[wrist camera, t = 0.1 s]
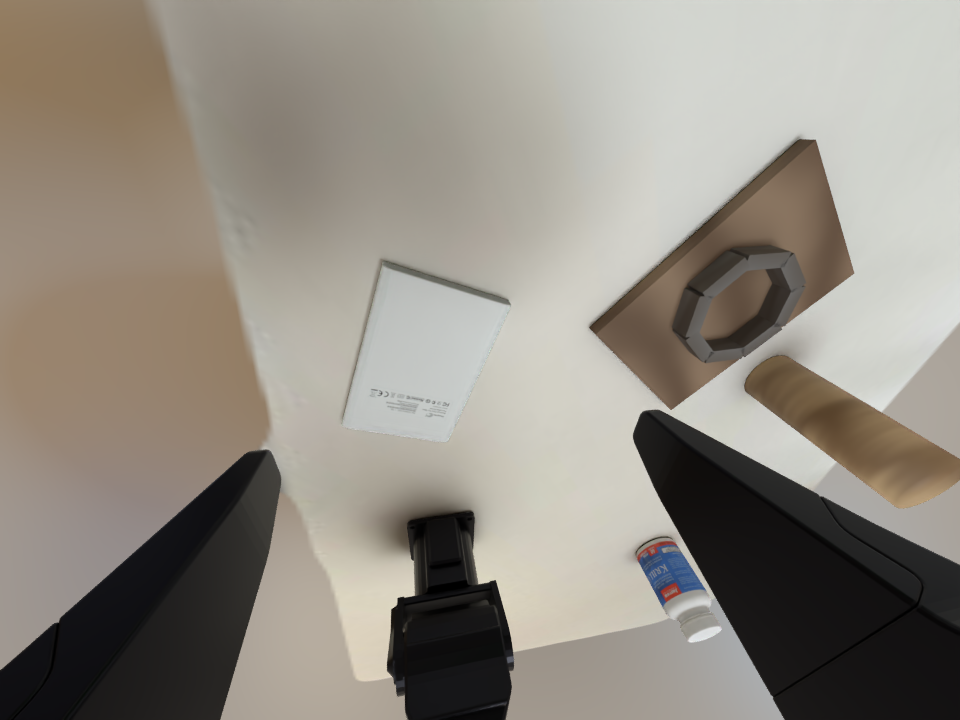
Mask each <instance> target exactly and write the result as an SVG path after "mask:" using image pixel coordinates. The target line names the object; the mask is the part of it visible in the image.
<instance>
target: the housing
mask: <svg viewBox="0 0 960 720" xmlns="http://www.w3.org/2000/svg"><path fill="white" fill-rule="evenodd" d="M853 274H854V271H853V267H852V264H851V260H850V257H849V253H848V250H847V246H846V243H845V239H844V236H843V232H842V229H841V226H840V222H839V219H838V215H837V212H836V208H835V205H834V201H833V198H832V194H831V191H830V187H829V184H828V180H827V177H826V174H825V170H824V167H823V163H822V160H821V156H820V153H819V149H818V146H817V142H816V140H802V139H799V140H798V141H797V142H796V143H795V144H794V145H793V146H792V147H790V148H789V149H788V150H787V151H786V152H785V153H784V154H783V155H782V156H780V157H779V158H778V159H777V160H776V161H775V162H774V163H773V164H772V165H770V166H769V167H768V168H767V169H766V170H765V171H764V172H763V173H761V174H760V175H759V176H758V177H757V178H756V179H755V180H754V181H753V182H751V183H750V184H749V185H748V186H747V187H746V188H745V189H744V190H743V191H741V192H740V193H739V194H738V195H737V196H736V197H735V198H734V199H732V200H731V201H730V202H729V203H728V204H727V205H726V206H725V207H724V208H722V209H721V210H720V211H719V212H718V213H717V214H716V215H715V216H714V217H712V218H711V219H710V220H709V221H708V222H707V223H706V224H705V225H704V226H702V227H701V228H700V229H699V230H698V231H697V232H696V233H695V234H693V235H692V236H691V237H690V238H689V239H688V240H687V241H686V242H685V243H683V244H682V245H681V246H680V247H679V248H678V249H677V250H676V251H675V252H673V253H672V254H671V255H670V256H669V257H668V258H667V259H666V260H665V261H663V262H662V263H661V264H660V265H659V266H658V267H657V268H656V269H654V270H653V271H652V272H651V273H650V274H649V275H648V276H647V277H646V278H644V279H643V280H642V281H641V282H640V283H639V284H638V285H637V286H636V287H634V288H633V289H632V290H631V291H630V292H629V293H628V294H627V295H625V296H624V297H623V298H622V299H621V300H620V301H619V302H618V303H617V304H615V305H614V306H613V307H612V308H611V309H610V310H609V311H608V312H607V313H605V314H604V315H603V316H602V317H601V318H600V319H599V320H598V321H597V322H595V323H594V324H593V325H592V326H591V327H590V329H591V330H592V331H593V332H594V333H595V334H596V335H597V336H598V337H599V338H600V339H601V340H602V341H603V342H604V343H605V344H606V345H607V346H608V347H609V348H610V349H611V350H612V351H613V352H614V353H615V354H616V355H617V356H618V357H619V358H620V359H621V360H622V361H623V362H624V363H625V364H626V365H627V366H628V367H629V368H630V369H631V370H632V371H633V372H634V373H635V374H636V375H637V376H638V377H639V378H640V379H641V380H642V381H643V382H644V383H645V384H646V385H647V386H648V387H649V388H650V389H651V390H652V391H653V392H654V393H655V394H656V395H657V396H658V397H659V398H660V399H661V400H662V402H663V403H664V404H665V405H666V406H667V407H668V408H669V409H670V410H672V409H673V408H674V407H676V406H677V405H678V404H680V403H681V402H682V401H684V400H685V399H686V398H688V397H689V396H690V395H692V394H693V393H694V392H696V391H697V390H699V389H700V388H701V387H703V386H704V385H705V384H707V383H708V382H709V381H711V380H712V379H713V378H715V377H716V376H717V375H719V374H720V373H721V372H723V371H724V370H725V369H727V368H728V367H729V366H731V365H732V364H733V363H735V362H736V361H737V360H739V359H741V358H742V357H743V356H744V357H746V356H747V355H748V354H750V353H751V352H752V351H754V350H755V349H756V348H758V347H759V346H760V345H762V344H763V343H764V342H766V341H767V340H768V339H770V338H771V337H772V336H774V335H775V334H777V333H778V332H779V331H781V330H782V327H783V326H785V325H786V324H787V323H788V322H790V321H791V320H792V319H794V318H795V317H796V316H798V315H799V314H800V313H802V312H803V311H805V310H806V309H807V308H809V307H810V306H811V305H813V304H814V303H815V302H817V301H818V300H819V299H821V298H822V297H823V296H825V295H826V294H827V293H829V292H830V291H831V290H833V289H834V288H835V287H837V286H838V285H839V284H841V283H842V282H843V281H845V280H846V279H847V278H849V277H850V276H851V275H853Z"/></svg>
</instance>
